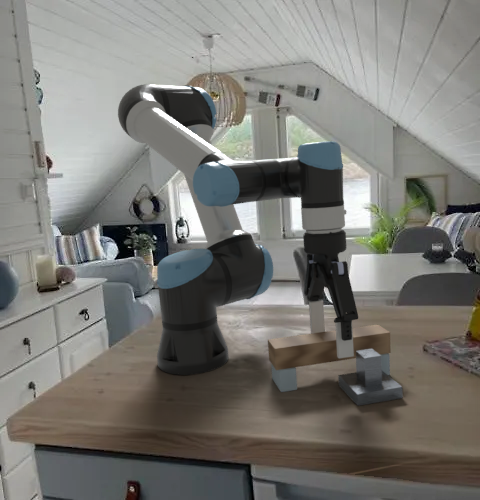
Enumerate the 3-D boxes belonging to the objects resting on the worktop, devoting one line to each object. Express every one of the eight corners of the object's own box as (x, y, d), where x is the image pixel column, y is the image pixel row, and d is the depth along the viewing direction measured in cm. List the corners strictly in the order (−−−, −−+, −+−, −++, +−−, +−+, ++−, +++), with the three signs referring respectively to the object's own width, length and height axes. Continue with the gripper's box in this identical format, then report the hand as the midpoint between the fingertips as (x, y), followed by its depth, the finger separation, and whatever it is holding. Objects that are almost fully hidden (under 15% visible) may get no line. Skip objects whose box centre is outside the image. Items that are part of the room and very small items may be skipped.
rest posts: (281, 392, 87) (279, 370, 86) (272, 378, 93) (270, 358, 92) (389, 374, 91) (389, 354, 90) (375, 362, 97) (374, 343, 96)
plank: (276, 370, 87) (274, 348, 86) (269, 359, 92) (267, 339, 91) (390, 352, 91) (390, 332, 90) (377, 344, 96) (377, 324, 95)
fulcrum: (357, 405, 80) (356, 365, 79) (338, 385, 88) (337, 348, 87) (402, 398, 82) (401, 358, 81) (380, 378, 89) (379, 342, 88)
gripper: (375, 235, 76) (381, 365, 79) (319, 222, 100) (325, 322, 103) (330, 240, 75) (337, 372, 78) (284, 226, 99) (291, 327, 102)
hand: (330, 344), depth 90 cm, fingers open, 13 cm apart
